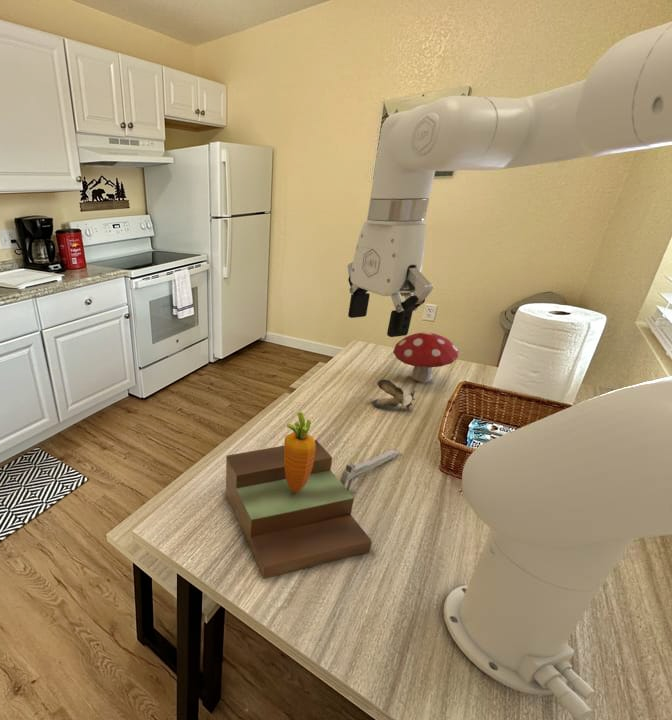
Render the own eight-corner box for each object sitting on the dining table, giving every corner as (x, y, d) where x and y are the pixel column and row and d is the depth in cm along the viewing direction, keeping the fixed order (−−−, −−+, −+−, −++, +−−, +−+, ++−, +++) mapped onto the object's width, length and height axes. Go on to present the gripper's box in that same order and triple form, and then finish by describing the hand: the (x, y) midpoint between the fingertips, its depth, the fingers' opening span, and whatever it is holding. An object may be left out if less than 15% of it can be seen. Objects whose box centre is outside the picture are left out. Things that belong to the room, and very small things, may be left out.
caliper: (342, 497, 71) (347, 470, 69) (337, 494, 72) (342, 467, 70) (398, 454, 82) (404, 430, 80) (393, 452, 83) (399, 427, 81)
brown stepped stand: (369, 552, 61) (379, 509, 57) (263, 578, 57) (267, 534, 53) (311, 476, 77) (316, 439, 73) (225, 493, 73) (226, 455, 69)
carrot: (304, 508, 61) (314, 429, 55) (275, 496, 63) (281, 420, 57) (313, 489, 65) (324, 413, 59) (285, 479, 67) (292, 405, 61)
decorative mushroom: (455, 398, 103) (470, 346, 97) (390, 389, 109) (400, 339, 103) (443, 373, 117) (456, 326, 111) (386, 366, 122) (395, 321, 116)
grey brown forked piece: (410, 396, 102) (375, 384, 105) (420, 384, 96) (383, 372, 99) (404, 421, 99) (368, 408, 102) (414, 409, 93) (376, 396, 96)
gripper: (338, 210, 62) (325, 312, 69) (420, 217, 47) (393, 347, 53) (378, 209, 63) (362, 309, 70) (470, 214, 48) (438, 341, 55)
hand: (375, 325), depth 62 cm, fingers open, 9 cm apart
